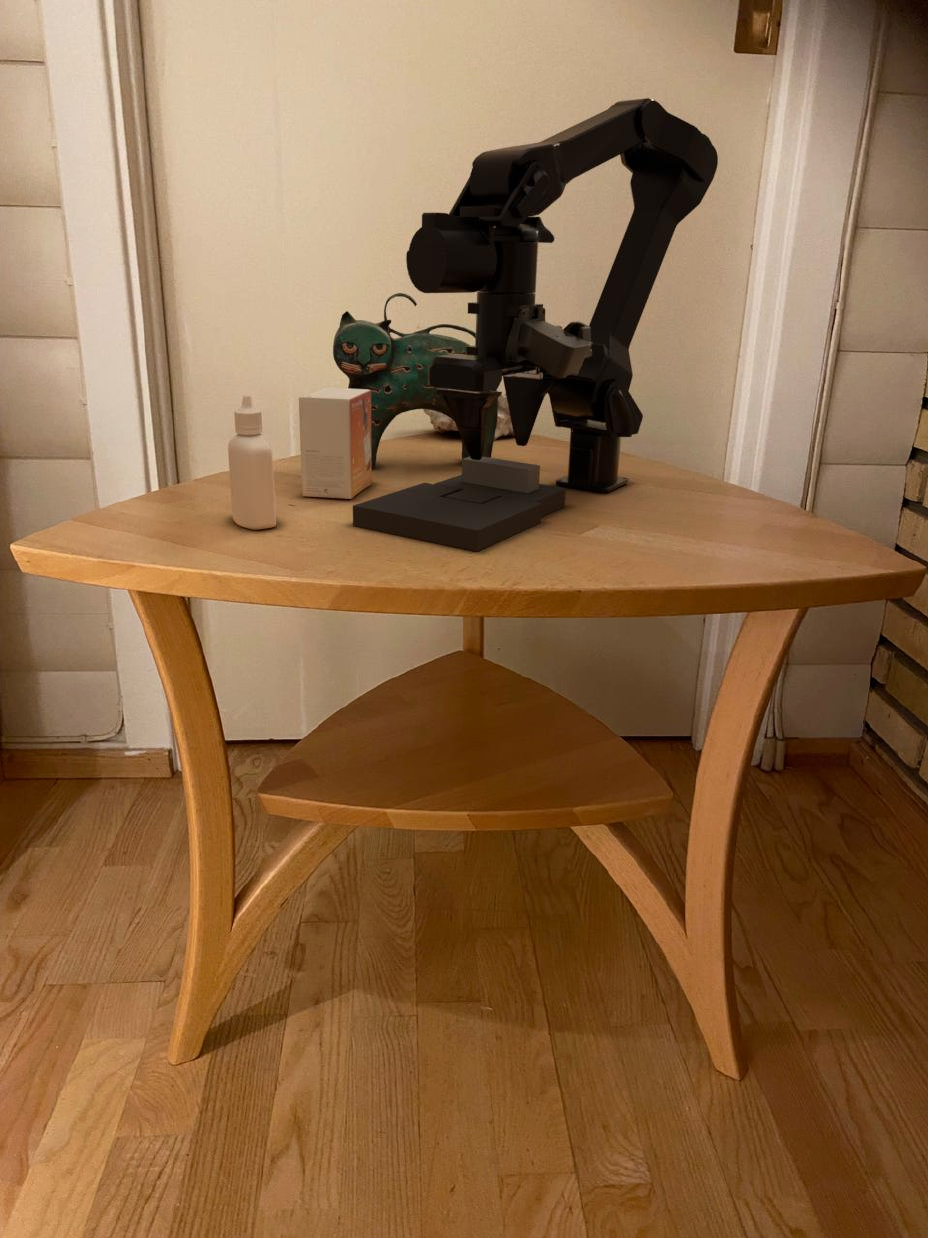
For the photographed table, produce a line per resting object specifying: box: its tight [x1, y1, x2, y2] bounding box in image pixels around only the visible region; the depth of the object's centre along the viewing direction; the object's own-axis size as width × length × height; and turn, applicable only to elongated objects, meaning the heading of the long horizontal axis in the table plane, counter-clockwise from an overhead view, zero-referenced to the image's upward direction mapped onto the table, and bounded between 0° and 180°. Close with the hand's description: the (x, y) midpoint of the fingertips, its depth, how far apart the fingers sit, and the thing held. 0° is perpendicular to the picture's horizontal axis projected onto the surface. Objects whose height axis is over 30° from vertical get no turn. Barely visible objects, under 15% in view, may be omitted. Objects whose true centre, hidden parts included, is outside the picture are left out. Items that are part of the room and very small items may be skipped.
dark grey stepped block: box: [434, 457, 567, 518], centre depth 98 cm, size 11×12×4 cm
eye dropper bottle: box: [227, 394, 277, 531], centre depth 90 cm, size 4×6×12 cm
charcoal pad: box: [352, 482, 542, 553], centre depth 93 cm, size 12×14×2 cm
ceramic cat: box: [332, 292, 498, 470], centre depth 114 cm, size 20×6×20 cm, turn 104°
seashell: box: [422, 393, 514, 441], centre depth 136 cm, size 14×9×10 cm
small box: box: [298, 386, 373, 500], centre depth 103 cm, size 8×6×10 cm
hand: (499, 452), depth 99 cm, fingers open, 9 cm apart
